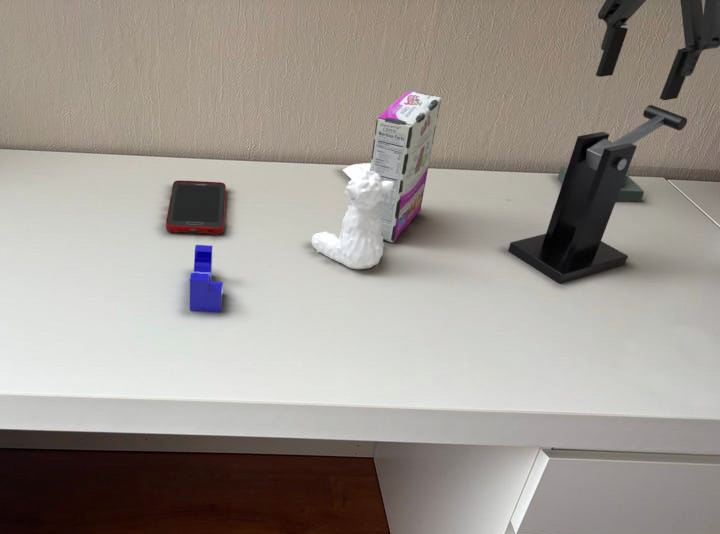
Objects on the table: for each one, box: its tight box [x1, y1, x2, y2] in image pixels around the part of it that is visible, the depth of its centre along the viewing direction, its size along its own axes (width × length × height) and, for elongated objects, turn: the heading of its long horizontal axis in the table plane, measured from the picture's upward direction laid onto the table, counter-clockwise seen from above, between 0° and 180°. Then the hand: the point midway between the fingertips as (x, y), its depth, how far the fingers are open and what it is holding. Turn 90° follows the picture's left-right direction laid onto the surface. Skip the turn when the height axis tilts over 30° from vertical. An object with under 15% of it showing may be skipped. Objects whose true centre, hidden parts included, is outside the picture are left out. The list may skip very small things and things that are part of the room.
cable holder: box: [189, 244, 224, 313], centre depth 86 cm, size 8×4×4 cm, turn 178°
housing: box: [557, 167, 645, 203], centre depth 116 cm, size 10×8×4 cm
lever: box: [586, 104, 688, 171], centre depth 91 cm, size 12×5×2 cm, turn 118°
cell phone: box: [165, 179, 227, 235], centre depth 104 cm, size 8×15×1 cm, turn 0°
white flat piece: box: [342, 162, 371, 180], centre depth 112 cm, size 5×15×1 cm, turn 16°
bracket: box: [507, 131, 637, 284], centre depth 94 cm, size 12×9×16 cm
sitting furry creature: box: [311, 170, 394, 270], centre depth 92 cm, size 10×9×12 cm
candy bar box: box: [370, 90, 442, 244], centre depth 99 cm, size 11×5×16 cm, turn 150°
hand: (634, 86), depth 107 cm, fingers open, 10 cm apart
